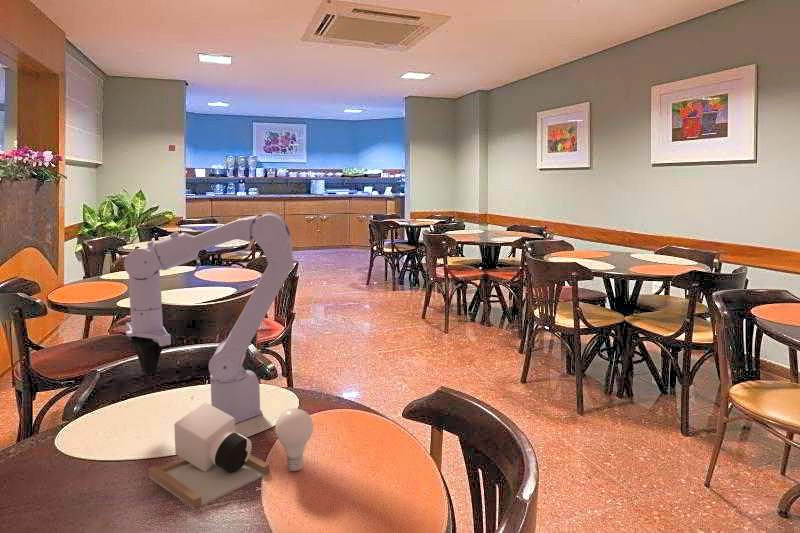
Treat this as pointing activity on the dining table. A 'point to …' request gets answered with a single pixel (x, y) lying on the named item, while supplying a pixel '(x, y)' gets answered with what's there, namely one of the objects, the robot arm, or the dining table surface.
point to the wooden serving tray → (205, 480)
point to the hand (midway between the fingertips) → (149, 372)
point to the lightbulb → (294, 435)
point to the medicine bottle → (211, 440)
